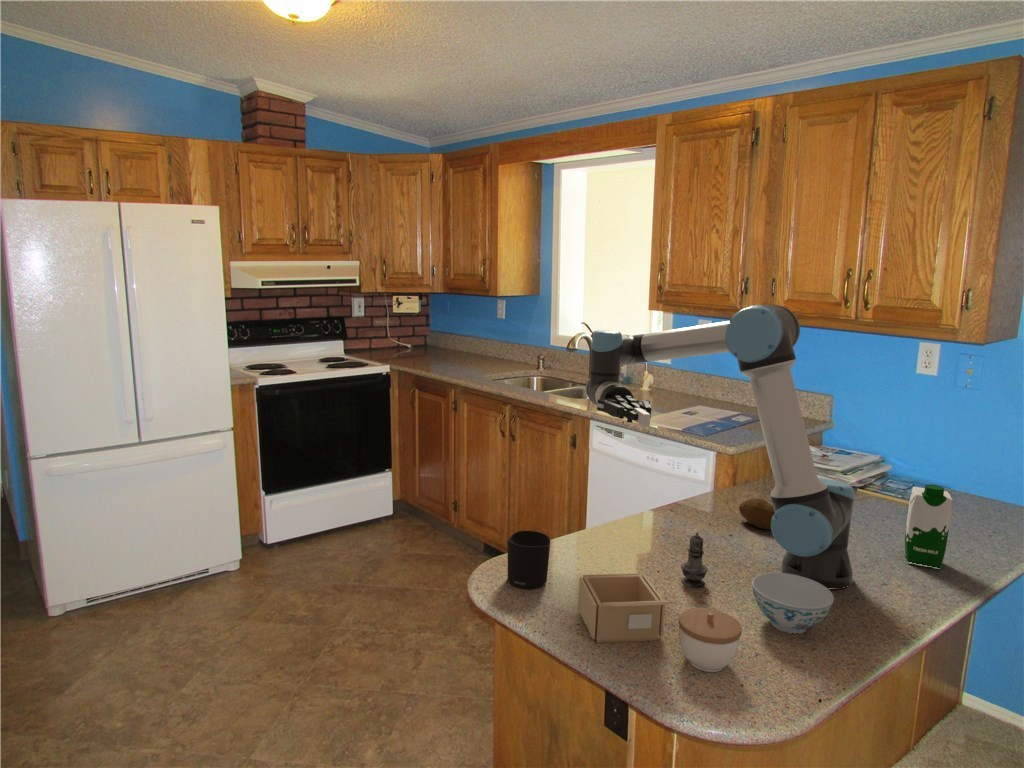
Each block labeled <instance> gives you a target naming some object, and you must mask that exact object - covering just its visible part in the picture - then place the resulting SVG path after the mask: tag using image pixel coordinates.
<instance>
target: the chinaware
mask: <svg viewBox="0 0 1024 768" xmlns="http://www.w3.org/2000/svg"><path fill="white" fill-rule="evenodd" d="M751 586H752V593H753V597H754V600H755V602H756V605H757V606H758V608H759V610H760V611H761V612H762V613H763V615H764V616H765V617H766V618H767V619H768V620H769V621H770V624H771V625H772V626H773V627H774V628H776V629H777V630H778V631H781V632H783V633H786V632H787V634H792V633H794V634H795V635H797V634H796V633H798V635H799V633H800V634H803V633H805V632H807V629H809V628H812V627H814V626H816V625H817V624H819V623H821V622H822V621H823V620H824V619H825V618H826V617H827V615H828V614H829V612H830V610H831V609H832V606H833V603H834V602H835V601H834V599H835V596H834V594H833V592H831V591H832V590H831V589H827V588H826V587H825V586H823V585H822V584H820V583H818V582H816V581H813V580H811V579H808V578H805V577H802V576H798V575H793V574H787V573H783V572H767V573H766V572H765V573H761V574H758V575H756V576H755V577H754V578H753V579H752V583H751ZM830 590H831V591H830ZM794 634H793V635H794Z"/></svg>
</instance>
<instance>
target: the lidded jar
mask: <svg viewBox="0 0 1024 768" xmlns="http://www.w3.org/2000/svg"><path fill="white" fill-rule="evenodd" d="M741 635H742V624H740V622H739V621H738V620H737V619H736V618H734V617H733V616H732V615H730V614H728V613H726V612H723V611H720V610H716V609H713V608H708V607H707V608H705V607H694V608H689V609H686V610H684V611H683V612H681V613H680V615H679V617H678V639H679V642H678V643H679V647H680V649H681V652H682V653H683V655H684V657H685V658H686V659H687V661H688V662H689V663H690V665H691V666H692V667H693V668H695V669H697V670H700V671H703V672H707V673H717V672H720V671H722V670H723V669H724V668H725V667H728V665H730V664H731V663H732V662H733V661H734V659H735V657H736V656H737V653H738V651H739V646H740V641H741Z"/></svg>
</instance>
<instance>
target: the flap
mask: <svg viewBox="0 0 1024 768" xmlns="http://www.w3.org/2000/svg"><path fill="white" fill-rule="evenodd" d="M676 604H677V603H676V600H663V601H635V602H606V603H602V606H641V605H665V606H666V605H676Z"/></svg>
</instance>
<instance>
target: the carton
mask: <svg viewBox="0 0 1024 768" xmlns="http://www.w3.org/2000/svg"><path fill="white" fill-rule="evenodd" d="M635 601H664V600H663V598H662V596H661V595H660V593H659V592H658V591H657V590H656V588H655V587H654V586H653V585H652V583H651V582H650V581H649V579H648V577H646V575H645V574H642V575H641V574H640V573H639V572H635V573H634V572H633V573H602V574H600V573H598V574H597V573H596V574H582V576H579V581H578V600H577V610H578V612H579V613H580V615H581V618H582V620H583V623H584V624H585V626H586V628H587V630H588V633H589V635H590V637H591V639H592V640H595V642H596V644H597V643H598V644H599V643H623V642H624V643H625V642H644V641H645V642H646V641H648V642H649V641H659V640H660V639H659V638H660V637H664V636H663V635H664V634H663V633H664V622H665V610H666V605H641V606H602V603H606V602H635ZM659 636H660V637H659Z"/></svg>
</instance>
